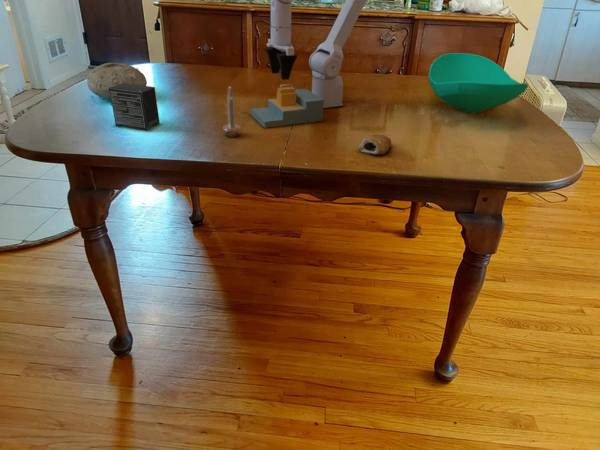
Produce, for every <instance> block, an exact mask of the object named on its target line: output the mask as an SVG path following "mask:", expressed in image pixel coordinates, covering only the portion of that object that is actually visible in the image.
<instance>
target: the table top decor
mask: <svg viewBox="0 0 600 450" xmlns="http://www.w3.org/2000/svg"><path fill="white" fill-rule="evenodd" d="M428 82H429V83H428V84H429V85H430V87H431V88H432V91H433V93H434V94H435V95H436V96H437V97H438V99H439V100H440V101H441V102H443V103H445V104H447V105H448V106H449V107H452V108H454V109H456V110H458V111H460V112H465V113H477V114H478V113H482V112H484V111H486V110H489V109H493V108H497V107H499V106H503V105H506V104H508V103H509V102H511V101H513V100H515V99H517V98H518V97H520V96H521V95H522V94H523V93H525V91H526V90H527V88H528V87H529V84H528V83H524V82H521V83H520V82H519V81H517V80H515V79H514V78H512V77H511V76H510V75H509V74H508V73H507V71H506V70H505V69H504V68H503V67H501V66H500V65H499V64H498V63H496V62H495V61H493V60H491V59H489V58H487V57H485V56H482V55H478V54H473V53H467V52H466V53H463V52H450V53H443V54H441V55H440V56H438V57H437V58H436V59H434V61H433V62H432V63H431V65H430V66H429V72H428Z"/></svg>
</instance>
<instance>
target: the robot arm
mask: <svg viewBox="0 0 600 450" xmlns="http://www.w3.org/2000/svg"><path fill="white" fill-rule="evenodd" d="M293 1H294V0H270V38H268V39H267V43H266V47H265V48H264V52H265V54H266V56H267V58H268V62H269V66H270V71H271V73H272V74H279V73H280V78H281V80H282V81H286V80H290V77H291V73H292V69H293V66H294V64H295V62H296V60H297V59H298V54H295V47H293V45H292V2H293ZM367 1H368V0H345V1H344V3H343V6H342V7H341V9H340V11H339V13H338V15H337V18H336V19H335V22H334V23H333V25H332V28H331V29H330V32H329V34H328V36H327V38H326V40H325V41H323V42H322V43H320V44H319V45H318V46H317V48H316V50H315V51H313V52H312V53H311V54H310V56H309V58H308V65H309V68H310V70H311V71H312V73H311V74H312V79H311V80H312V81H311V92H312V93H314V94H315V95H317V96H318V97H320V98H321V99H323V100H324V101H323V109H328V108H335V107H343V106H344V103H343V97H344V96H343V95H344V80H343V77H342V76H341V75H339V74H340V72H341V68H342V63H343V61H344V58H345V57H344V52H343V48H344V46H345V44H346V42H347V40H348V38H349V36H350V34H351V33H352V30H353V28H354V26H355V24H356V22H357V21H358V18H359V17H360V14H361V13H362V10H363V9H364V7H365V5H366V3H367Z"/></svg>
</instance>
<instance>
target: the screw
mask: <svg viewBox="0 0 600 450" xmlns="http://www.w3.org/2000/svg"><path fill="white" fill-rule="evenodd" d="M226 95H227V96H226V97H227V98H226V102H227V103H226V109H227V124H224V125H223V126H222V130H223V131H224V132H226V136H227V137H231V138H233V137H236V136H238V132H240V131H241V130H242V126H241V125H240V124H237V123H236V121H235V120H236V119H235V118H236V117H235V116H236V115H235V101H234V100H235V99H234V95H233V87H231V86H230V85H229V86H227V87H226Z"/></svg>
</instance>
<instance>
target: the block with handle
mask: <svg viewBox="0 0 600 450" xmlns="http://www.w3.org/2000/svg"><path fill="white" fill-rule="evenodd" d="M295 90H296V88H295V87H294V84H293V83H287V84H285V83H284V84H280V86H279V87H277V91H276V98H277V103H278V104H279V105H280V106H289V105H296V93H295Z"/></svg>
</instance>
